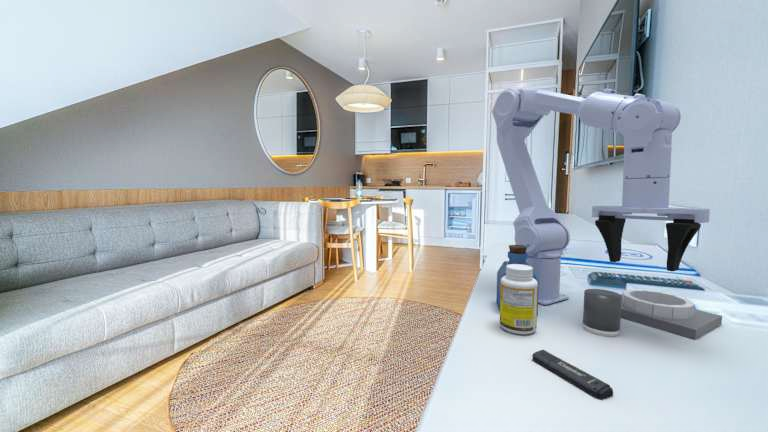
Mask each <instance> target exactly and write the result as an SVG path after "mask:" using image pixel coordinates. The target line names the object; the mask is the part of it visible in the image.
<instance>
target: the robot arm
mask: <svg viewBox="0 0 768 432" xmlns="http://www.w3.org/2000/svg"><path fill="white" fill-rule="evenodd" d="M679 109H680V108H678V106H676V104H673V103H671V102H669V101H666V100H662V99H656V98H651V97H646V95H645V94H642V93H635V94H634V95H626V94H619V93H617V90H615V89H613V88H612V89H611V88H603V91H595V92H592V93H591V94H590V95H589V94H588V95H587V96H586V97H581V96H575V95H569V94H566V93H560V92H555V91H549V90H545V89H535V88H534V89H533V88H518V89H517V90H516V89H514V88H506V89H504V90H502V91H501V92H500V93H499V95H497V98H496V100H495V102H494V105H493V107H492V110H491V113H492V116H493V120H494V123H495V125H496V143H497V146H498V150H499V153H500V156H501V159H502V162H503V164H504V165H503V166H504V169H505V171H506V174H507V177H508V180H509V181H508V182H509V184H510V187H511V190H512V192H513V196H514V199H515V202H516V206H517V209H518V212H519V214H518V215H517V217H516V218H515V219H514V221H513V222H512V225H513V227H514V243H515V245H523V246H527V249H526V253H528V259H526V262H527V263H528V264H529V265H530V266H531V267H532V268H533V272H534V274H535V276H536V278H537V280H538V282H539V292H538V304H540V305H544V306H548V305H550V304H555V303H558V302H561V301H565V300H569V296H568V295H566V294H562V293H560V286H561V285H560V284H561V266H562V265H561V264H562V263H561V261H562V255H563V254H564V253H563V251H564V250H565V249H566V248H567V247H568V246H569V243H570V241H571V237H570V236H571V235H570V231H569V229H568V228H567V226H566V225H565V224H564V223H563V222H562V221H561V219H560V216H559V214H558V213H557V212H556V211H554V210H553V209H551V208H550V206H549V205H548V204H547V202H546V199H545V196H544V195H545V194H544V193H543V190H542V187H541V185H540V182H539V178H538V175H537V173H536V170H535V167H534V165H533V161H532V158H531V156H530V153H529V151H528V150H529V149H528V148H527V145H526V138H527V137H529V136H530V134H531V133H533V131H534V129H535V128H536V127H537V125H538V124H539V123H540V122H541V120H542V119H543V118H544V116H549V114H550V112H551V111H553V112H556V113H557V112H558V113H561V114H562V113H563V114H569V115H574V116H578V118H579V120H580V122H581V123H582V124H583V125H584V126H587V127H591V128H596V129H601V130H603V131H604V130H605V131H610V132H613V133H618V134H621V135H622V136H623V145H624V148H623V150H624V151H623V173H622V174H623V175H622V176H623V177H622V178H623V179H622V195H621V196H622V197H621V198H622V199H621V200H622V201H621V205H613V206H612V205H594V206H592V207H591V208H592V209H591V217H592V218H598V219H596V220H595V221H594V223H595V227H596V228H597V229H598V231H599V233H600V234H601V237H602V239H603V241H604V245H605V247H606V251H607V254H608V259H609V262H610V263H617V262H621V260H622V241H623V239H622V238H623V233H624V228H625V224H626V219H628V220H645V221H646V220H649V221H664V222H665V221H667V222H666V223H665V229H666V236H667V237H666V238H667V257H666V271H669V272H676V271H679V268H680V264H681V262H682V259H683V257H684V254H685V252H686V249H687V248H688V246H689V245H690V242H691V241H692V240H693V238H694V237H695V235H696V234H697V233H698V232H699V230H700V229H701V226H702V224H706V223H709V222H710V214H711V213H710V212H711V209H710V208H706V207H705V208H702V207H676V206H675V207H673V206H672V207H671V206H670V187H671V185H670V183H671V169H672V168H671V166H672V165H671V164H672V150H673V149H672V139H673V132H674V131H675V130H676V129H677V128H678V127H679V125H680V121H681V112H680V110H679ZM633 214H653V215H654V214H655V215H656V216H649V215H633ZM669 221H670V222H669Z"/></svg>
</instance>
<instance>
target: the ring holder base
mask: <svg viewBox="0 0 768 432" xmlns="http://www.w3.org/2000/svg"><path fill="white" fill-rule="evenodd" d="M620 295H622V307H621V319H625V320H629V321H631V322H635V323H637V324H638V323H639V324H642V325H646V326H649V327H651V328H654V329H655V328H656V329H658V330H662V331H666V332H668V333H672V334H675V335H678V336H682V337H685V338H688V339H692V340H694V341H695V340H697V339H699V338H701V337H702V336H705V335H706V334H708V333H710V332H711V331H713V330H715V329H717V328H718V327H720V326H722V324H723V323H722V322H723V321H722V320H723V315H719V314H716V313H713V312H708V311H703V310H700V309H696V303H695V302H693V301H692V300H691V299H689V298H687V297H683V296H681V295H677V294H673V293H669V292H665V291H658V290H653V289H652V290H651V289H642V288H640V289H638V288H637V289H636V288H634V289H633V288H632V289H631V288H630V289H626V290H623V291H622V294H620Z"/></svg>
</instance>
